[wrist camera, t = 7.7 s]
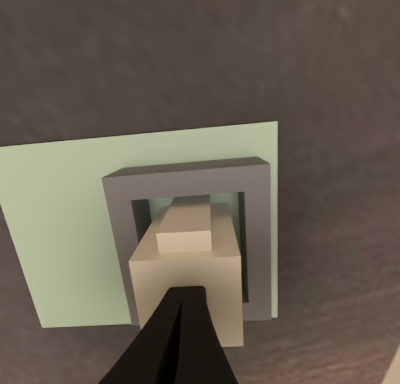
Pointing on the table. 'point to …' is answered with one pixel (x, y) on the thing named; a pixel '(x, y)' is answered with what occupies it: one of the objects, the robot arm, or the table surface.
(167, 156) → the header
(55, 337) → the table surface
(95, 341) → the table surface
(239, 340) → the plug
